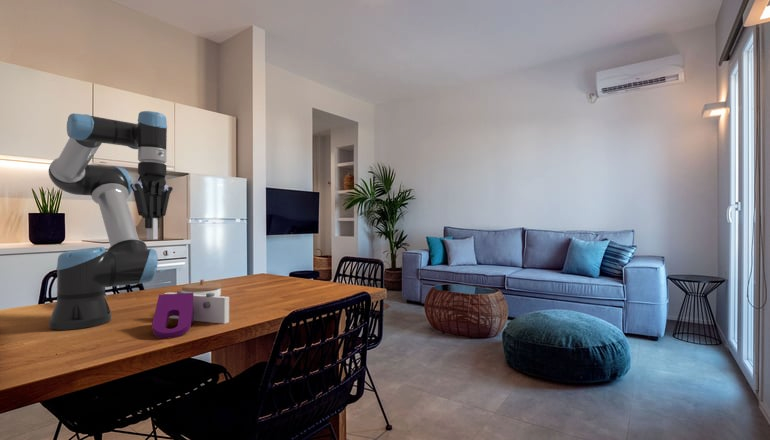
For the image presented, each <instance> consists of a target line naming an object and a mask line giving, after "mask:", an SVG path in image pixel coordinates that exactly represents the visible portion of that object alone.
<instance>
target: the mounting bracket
mask: <svg viewBox="0 0 770 440" xmlns="http://www.w3.org/2000/svg"><path fill="white" fill-rule="evenodd" d="M174 315H176V316H179V319H177V325H176V327H172V328H168V325H169V319H170V318H169V317H170V316H174ZM193 317H194V299H193V293H180V294H165V295H163V294H158V297H157V302H156V306H155V312H154V315H153V320H152V333H153V335H154V336H155V337H157V338H160V339H173V338H178V337H182V336H184V335H185V334H186V333H188V332H189V331H190V329H191V326H193V325H194V321H193Z"/></svg>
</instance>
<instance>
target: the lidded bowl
mask: <svg viewBox="0 0 770 440" xmlns="http://www.w3.org/2000/svg"><path fill="white" fill-rule="evenodd" d="M181 289H182V290H181V291H185V293H193V294H197V295H206V294H207V293H214V296H221V294H222V284H221V283H220V282H205V279H200V280H199V282H198V283H197V282H196V283H189V284H185V285H183V286H182V287H181Z"/></svg>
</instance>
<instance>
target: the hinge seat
mask: <svg viewBox="0 0 770 440" xmlns="http://www.w3.org/2000/svg"><path fill="white" fill-rule="evenodd" d="M180 293H185V291H183V290H179V291H176V292H172V291H171V292H164V293H163V294H162V295H165V294H180ZM193 299H194V317H193V322H194V321H196V322H202V323H205V322H206V323H213V324H222V325H225V324H228V323H230V296H223V295H222V296H221V295H220V296H214V293H207V294H206V295H197V294H193ZM168 319H175V320H179V316H176V315H174V316H170V317H169V318H168Z"/></svg>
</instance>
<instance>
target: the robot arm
mask: <svg viewBox="0 0 770 440" xmlns="http://www.w3.org/2000/svg"><path fill="white" fill-rule="evenodd" d="M167 129H168V125H167V117H166V115H165V114H163V113H160V112H157V111H152V110H144V111H139V112H138V116H137V123H133V122H128V121H122V120H116V119H111V118H110V119H109V118H106V117H105V118H104V117H99V116H93V115H90V114H81V113H70V114H69V115H68V116H67V121H66V133H67V136H68V137H69V139H68V140H67V142H66V143H65V146H64V148H63V149H62V151H61V153H60V155H59V157H57V158H55V159H54V160H53V161H52V162H51V163H50V165H49V167H48V175H49V179H50V180H51V182H52V183H53V184H54V186H55V187H57V188H59V189H60V190H62V191H64V192H65V193H68V194H71V195H77V196H91V199H92V201H93V202H94V203H96V204H97V205H98V206H99V210H100V213H101V217H102V221H103V223H104V227H105V231H106V234H107V239H108V241H109V242H108V243H109V245H110V247H108V249H106V248H105V247H104V246H103V247H102V246H97V247H86V248H80V249H73V250H68V251H65V252H62V253H60V254H59V255H58V258H57V263H56V264H57V265H56V271H57V272H56V273H57V275H56V278H57V279H56V283H57V285H56V292H57V293H56V296H57V297H56V303H55V305H54V308H53V311H52V313H51V315H50V318H49V321H48V326H49V329H50V330H54V331H60V330H61V331H69V330H77V329H86V328H91V327H96V326H100V325H104V324H107V323H109V322H111V321H112V311H111V309H110V307H109V304H108V301H107V299H106V296H105V294H106V293H105V291H106V290H105V289H106V288H109V287H110V288H111V287H119V286H120V287H121V286H128V285H141V284H145V283H150V282H152V281H153V280H154V278H155V276H156V273H157V269H158V263H159V261H158V253H157V250H156V249H154V248H148V247H147V244H146V243H145V241H143V240H141V239H139V235H138V232H137V229H136V225H135V222H134V220H133V219H134V218H133V216H132V214H131V211H130V210H131V209H130V208H129V204H128V202H127V198H128V197H129V196H130V195H131V193H132V192H133V196H134V199H135V200H134V201H135V206H136V210H137V214H138V216H141V217H142V218H143V219H144V228H145V229H146V240H158V239H159V238H158V236H159V235H158V234H159V233H158V229H159V228H160V219H162V218H163V217H166V214H167V208H168V205H169V200H170V195H171V193H172V192H173V189H174V188H173V186H169V185H167V181H166V176H167V165H166V163H167V144H168V143H167V142H168V141H167V138H168V136H167V134H168V133H167V132H168V130H167ZM102 144H108V145H115V146H116V145H117V146H123V147H127V148H130V149H133V150H137V160H138V161H139V162H138V163H137V173H138V175H139V177H138V178H137V181H136V182H134V183H132V177H131V175H130V173H129V172H128V170H127V169H125V168H123V167H117V166H113V165H111V166H106V165H97V164H89V163H90V161H91V160H92V159H93V157H94V156H95V154H96V152H97V151H98V149H99V148H100V146H101V145H102Z"/></svg>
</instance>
